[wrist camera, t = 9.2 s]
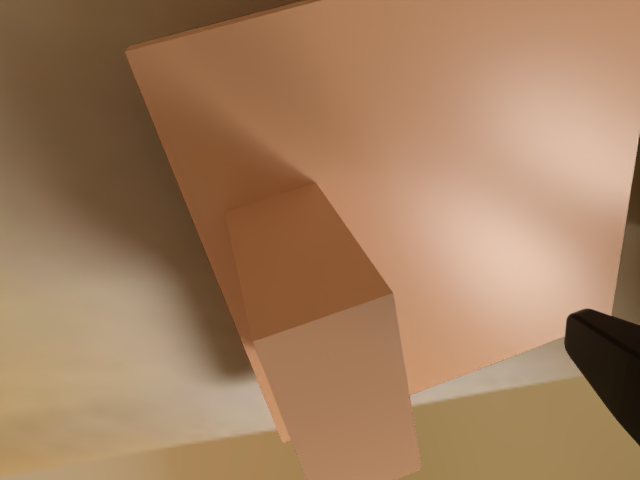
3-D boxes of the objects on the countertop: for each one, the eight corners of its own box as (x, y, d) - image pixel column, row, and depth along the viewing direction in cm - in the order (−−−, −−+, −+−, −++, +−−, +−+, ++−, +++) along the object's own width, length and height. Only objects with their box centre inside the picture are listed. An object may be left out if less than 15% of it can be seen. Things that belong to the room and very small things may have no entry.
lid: (564, 283, 20) (746, 424, 14) (270, 389, 18) (320, 606, 12) (594, -81, 13) (983, -137, 7) (133, 38, 12) (83, 109, 5)
